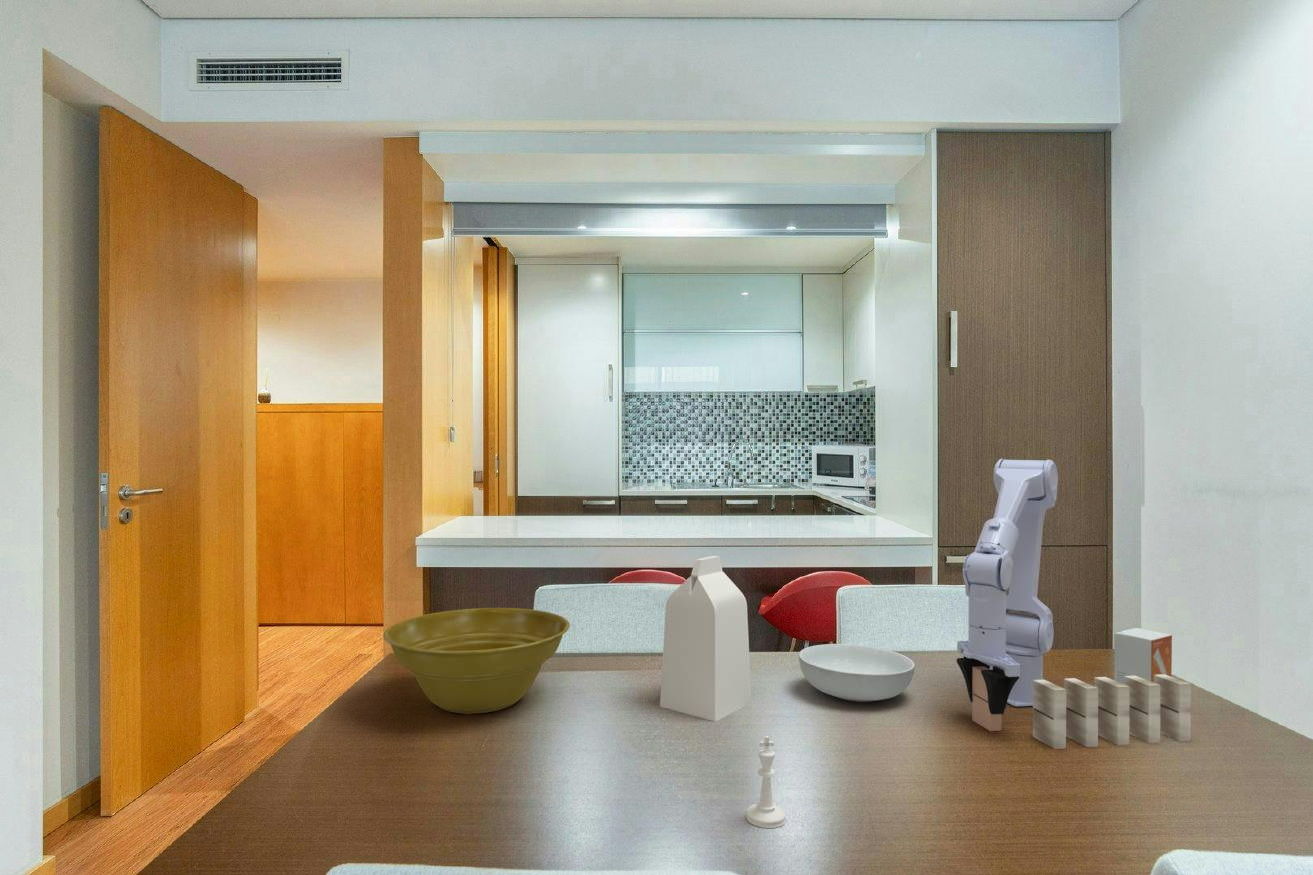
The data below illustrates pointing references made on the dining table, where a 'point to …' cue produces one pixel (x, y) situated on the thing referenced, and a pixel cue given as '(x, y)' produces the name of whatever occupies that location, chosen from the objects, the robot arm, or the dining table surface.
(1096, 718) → the domino
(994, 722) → the head domino
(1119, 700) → the domino
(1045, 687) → the domino
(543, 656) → the planter bowl
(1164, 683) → the domino
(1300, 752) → the dining table surface
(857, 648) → the serving bowl
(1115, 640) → the small box
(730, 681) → the milk
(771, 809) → the chess piece
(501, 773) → the dining table surface
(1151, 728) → the domino
